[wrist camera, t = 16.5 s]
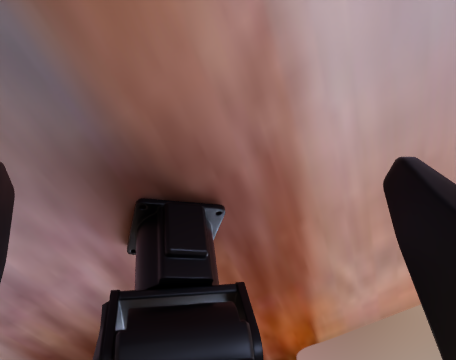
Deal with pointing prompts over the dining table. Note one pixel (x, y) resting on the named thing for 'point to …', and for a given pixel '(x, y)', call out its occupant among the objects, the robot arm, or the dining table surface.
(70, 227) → the dining table surface
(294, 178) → the dining table surface
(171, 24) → the dining table surface
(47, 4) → the dining table surface
